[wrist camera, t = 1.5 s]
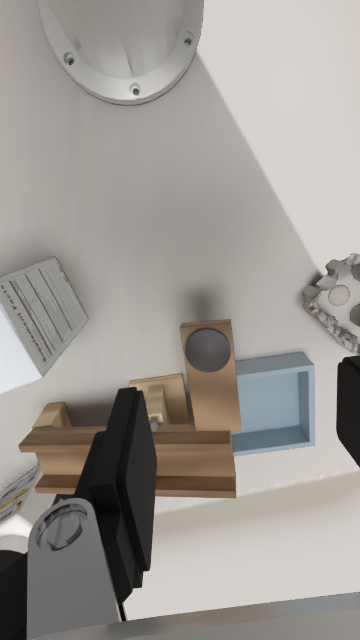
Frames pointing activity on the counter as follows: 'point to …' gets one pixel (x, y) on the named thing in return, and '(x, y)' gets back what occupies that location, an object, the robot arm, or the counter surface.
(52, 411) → the block
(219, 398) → the lever
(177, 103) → the counter surface
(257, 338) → the counter surface
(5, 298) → the supplement box
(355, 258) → the egg carton
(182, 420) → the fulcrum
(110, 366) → the counter surface
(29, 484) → the container
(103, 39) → the robot arm
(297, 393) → the dish
